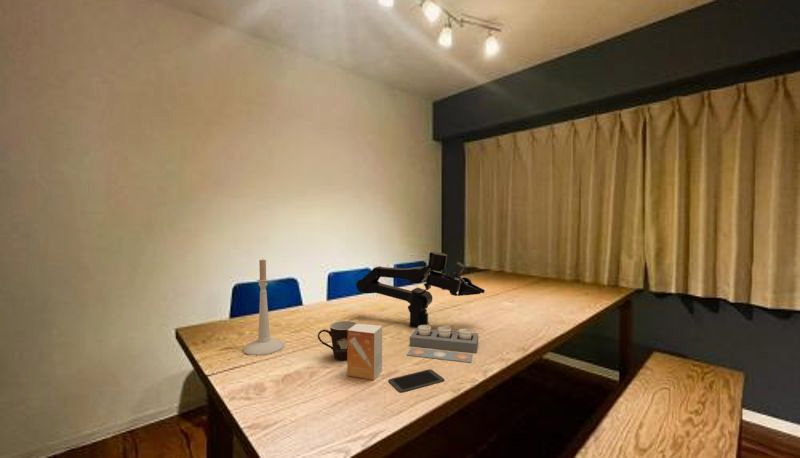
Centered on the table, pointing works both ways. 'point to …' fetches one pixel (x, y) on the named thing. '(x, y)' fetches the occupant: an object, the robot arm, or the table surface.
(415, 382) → the cell phone
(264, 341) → the candlestick
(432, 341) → the button panel
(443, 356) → the pattern card
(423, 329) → the left button
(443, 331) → the middle button
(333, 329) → the coffee mug
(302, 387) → the table surface
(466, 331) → the right button
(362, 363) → the small box
